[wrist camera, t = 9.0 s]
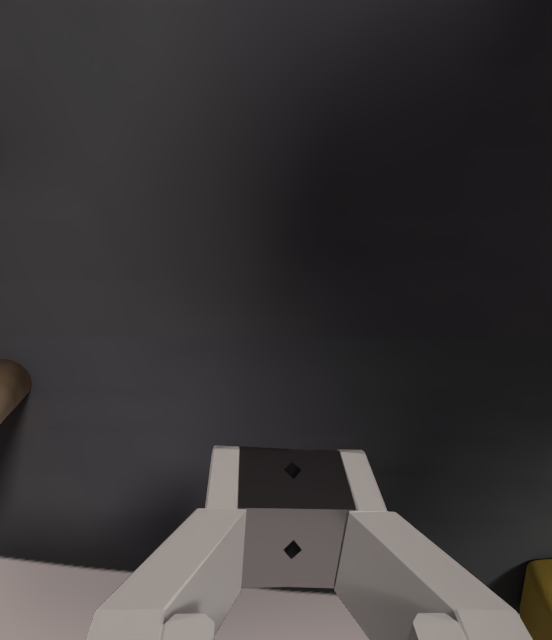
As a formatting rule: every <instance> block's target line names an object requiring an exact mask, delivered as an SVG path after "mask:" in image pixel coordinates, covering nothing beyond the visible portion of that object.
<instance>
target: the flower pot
mask: <svg viewBox="0 0 552 640" xmlns="http://www.w3.org/2000/svg"><path fill="white" fill-rule="evenodd" d="M520 618H521V620H522V622H523V623H524V625H525V627H526V629H527V630H528V632H529V634H530V636H531V637H532V639H533V640H552V559H543V560H535V561H531V562H529V563H528V565H527V568H526V574H525V579H524V586H523V592H522V597H521V602H520Z"/></svg>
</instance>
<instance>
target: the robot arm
mask: <svg viewBox="0 0 552 640" xmlns="http://www.w3.org/2000/svg"><path fill="white" fill-rule="evenodd" d="M264 587H307V588H335V590H334V591H335V593H336V594H337V595H338V597H339V598H340V599H341V601H342V602H343V604H344V605H345V606H346V608H347V609H348V610H349V612H350V613H351V615H352V616H353V617H354V618H355V620H356V621H357V623H358V624H359V625H360V627H361V628H362V630H363V631H364V632H365V634H366V635H367V637H368V638H369V639H370V640H533V639H532V637H531V636H530V634H529V632H528V630H527V629H526V627H525V625H524V623H523V622H522V620H521V618H520V616H519V615H518V613H517V611H516V610H515V609H513V608H512V607H511V606H510V605H508V604H507V603H506V602H505V601H504V600H502V599H501V598H500V597H499V596H497V595H496V594H495V593H494V592H493V591H491V590H490V589H489V588H488V587H486V586H485V585H484V584H483V583H482V582H480V581H479V580H478V579H477V578H476V577H474V576H473V575H472V574H471V573H469V572H468V571H467V570H466V569H465V568H463V567H462V566H461V565H460V564H458V563H457V562H456V561H455V560H454V559H452V558H451V557H450V556H449V555H447V554H446V553H445V552H444V551H443V550H441V549H440V548H439V547H438V546H436V545H435V544H434V543H433V542H432V541H430V540H429V539H428V538H427V537H425V536H424V535H423V534H422V533H421V532H419V531H418V530H417V529H416V528H414V527H413V526H412V525H411V524H410V523H408V522H407V521H406V520H405V519H404V518H402V517H401V516H400V515H399V514H397V513H396V512H388V511H387V509H386V506H385V503H384V501H383V498H382V496H381V493H380V490H379V488H378V485H377V483H376V480H375V477H374V475H373V472H372V470H371V467H370V464H369V462H368V459H367V457H366V454H365V452H364V451H363V450H302V449H281V448H261V447H242V446H240V452H239V447H238V446H214V447H213V450H212V456H211V464H210V472H209V480H208V488H207V496H206V504H205V508H197V509H196V510H195V511H194V512H193V513H192V514H191V515H190V516H189V517H188V518H187V519H186V520H185V521H184V522H183V523H182V524H181V525H180V526H179V527H178V528H177V529H176V530H175V531H174V532H173V533H172V534H171V535H170V536H169V537H168V538H167V539H166V540H165V541H164V542H163V543H162V544H161V545H160V546H159V547H158V548H157V549H156V550H155V551H154V552H153V553H152V554H151V555H150V556H149V557H148V558H147V559H146V560H145V561H144V562H143V563H142V564H141V565H140V566H139V567H138V568H137V569H136V570H135V571H134V572H133V573H132V574H131V575H130V576H129V577H128V578H127V579H126V580H125V582H123V583H122V584H121V585H120V586H119V587H118V588H117V589H116V590H115V591H114V592H113V593H112V594H111V595H110V596H109V598H108V599H106V600H105V601H104V603H102V605H100V606H99V607H98V608H97V609H96V611H95V613H94V616H93V619H92V622H91V625H90V628H89V631H88V634H87V637H86V640H214V636H215V634H216V632H217V631H218V629H219V627H220V626H221V624H222V622H223V621H224V619H225V617H226V616H227V614H228V612H229V611H230V609H231V607H232V606H233V604H234V602H235V600H236V599H237V597H238V595H239V594H240V592H241V588H264Z"/></svg>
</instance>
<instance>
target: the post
mask: <svg viewBox="0 0 552 640" xmlns="http://www.w3.org/2000/svg"><path fill="white" fill-rule="evenodd" d="M30 389H31V378H30V376H29V374H28V372H27V371H26V370H25V369H24V368H23V367H22V366H21V365H19V364H18V363H16V362H13V361H10V360H4V359H0V424H1V423H2V422H3V421H4V419H5V418H6V417H7V416H8V415H9V414H10V413H11V412H12V411H13V410H14V408H15V407H16V406H17V405H18V404H19V403H20V402H21V401H22V400H23V399H24V397H25V396H26V395H27V394H28V393H29V391H30Z"/></svg>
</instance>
